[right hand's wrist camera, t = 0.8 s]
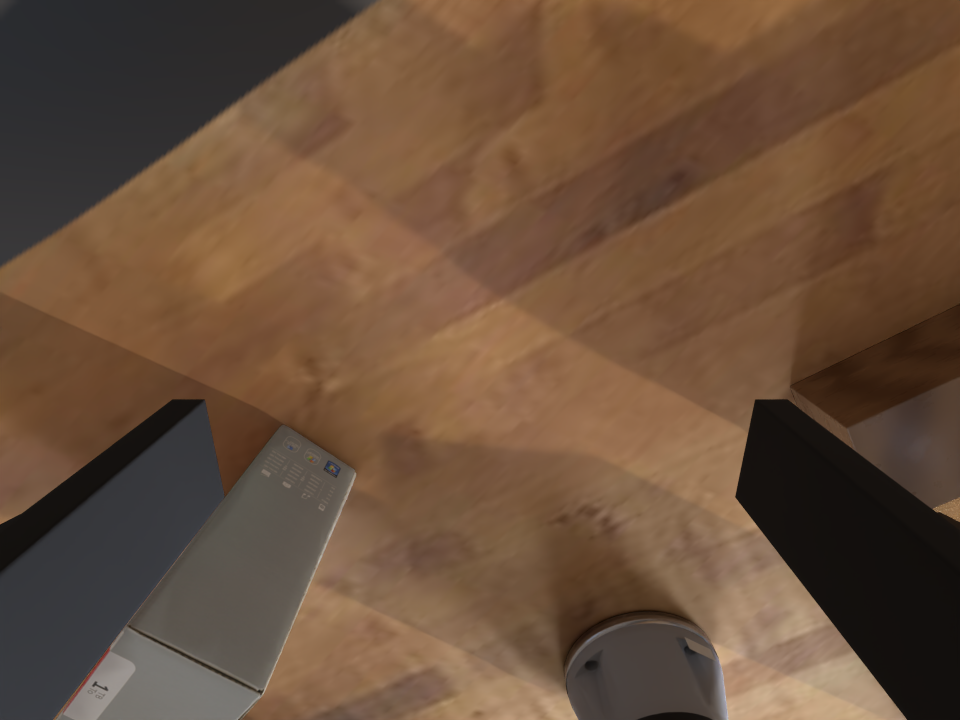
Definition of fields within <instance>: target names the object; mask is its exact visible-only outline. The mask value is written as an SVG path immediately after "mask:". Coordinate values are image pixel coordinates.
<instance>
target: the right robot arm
mask: <svg viewBox="0 0 960 720" xmlns="http://www.w3.org/2000/svg"><path fill="white" fill-rule="evenodd" d="M224 497H225V496H224V491H223V486H222V481H221V477H220V472H219V467H218V462H217V457H216V452H215V447H214V442H213V437H212V432H211V428H210V423H209V418H208V413H207V408H206V403H205V400H171V401H170V402H169V403H167V404H166V405H165V406H163V407H162V408H161V409H159V410H158V411H157V412H155V413H154V414H153V415H152V416H150V417H149V418H148V419H146V420H145V421H144V422H142V423H141V424H140V425H138V426H137V427H136V428H134V429H133V430H132V431H130V432H129V433H128V434H126V435H125V436H124V437H122V438H121V439H120V440H118V441H117V442H116V443H115V444H113V445H112V446H111V447H109V448H108V449H107V450H105V451H104V452H103V453H101V454H100V455H99V456H97V457H96V458H95V459H93V460H92V461H91V462H89V463H88V464H87V465H85V466H84V467H83V468H82V469H80V470H79V471H78V472H76V473H75V474H74V475H72V476H71V477H70V478H68V479H67V480H66V481H64V482H63V483H62V484H60V485H59V486H58V487H56V488H55V489H54V490H52V491H51V492H50V493H48V494H47V495H46V496H45V497H43V498H42V499H41V500H39V501H38V502H37V503H35V504H34V505H33V506H31V507H30V508H29V509H27V510H26V511H25V512H23V513H22V514H20V515H18V516H16V517H14V518H12V519H10V520H8V521H6V522H4V523H2V524H0V720H53V719H54V717H55V716H56V715H57V713H58V712H59V711H60V710H61V708H62V707H63V706H64V704H65V703H66V702H67V701H68V699H69V698H70V697H71V695H72V694H73V693H74V691H75V690H76V689H77V688H78V686H79V685H80V684H81V682H82V681H83V680H84V679H85V677H86V676H87V675H88V673H89V672H90V671H91V669H92V668H93V667H94V666H95V664H96V663H97V662H98V660H99V659H100V658H101V657H102V655H103V654H104V653H105V651H106V650H107V649H108V647H109V646H110V645H111V644H112V642H113V641H114V640H115V638H116V637H117V636H118V635H119V633H120V632H121V631H122V629H123V628H124V627H125V625H126V624H127V623H128V622H129V620H130V619H131V618H132V616H133V615H134V614H135V613H136V611H137V610H138V609H139V607H140V606H141V605H142V603H143V602H144V601H145V600H146V598H147V597H148V596H149V594H150V593H151V592H152V591H153V589H154V588H155V587H156V585H157V584H158V583H159V581H160V580H161V579H162V578H163V576H164V575H165V574H166V572H167V571H168V570H169V569H170V567H171V566H172V565H173V563H174V562H175V561H176V560H177V558H178V557H179V556H180V554H181V553H182V552H183V550H184V549H185V548H186V547H187V545H188V544H189V543H190V541H191V540H192V539H193V538H194V536H195V535H196V534H197V532H198V531H199V530H200V528H201V527H202V526H203V525H204V523H205V522H206V521H207V519H208V518H209V517H210V516H211V514H212V513H213V512H214V510H215V509H216V508H217V506H218V505H219V504H220V503H221V501H222V500H223V499H224ZM735 497H736V499H737V500H738V501H739V503H740V504H741V505H742V506H743V508H744V509H745V510H746V512H747V513H748V514H749V516H750V517H751V518H752V519H753V521H754V522H755V523H756V525H757V526H758V527H759V528H760V530H761V531H762V532H763V534H764V535H765V536H766V538H767V539H768V540H769V541H770V543H771V544H772V545H773V547H774V548H775V549H776V550H777V552H778V553H779V554H780V556H781V557H782V558H783V560H784V561H785V562H786V563H787V565H788V566H789V567H790V569H791V570H792V571H793V572H794V574H795V575H796V576H797V578H798V579H799V580H800V581H801V583H802V584H803V585H804V587H805V588H806V589H807V591H808V592H809V593H810V594H811V596H812V597H813V598H814V600H815V601H816V602H817V603H818V605H819V606H820V607H821V609H822V610H823V611H824V613H825V614H826V615H827V616H828V618H829V619H830V620H831V622H832V623H833V624H834V625H835V627H836V628H837V629H838V631H839V632H840V633H841V635H842V636H843V637H844V638H845V640H846V641H847V642H848V644H849V645H850V646H851V647H852V649H853V650H854V651H855V653H856V654H857V655H858V657H859V658H860V659H861V660H862V662H863V663H864V664H865V666H866V667H867V668H868V669H869V671H870V672H871V673H872V675H873V676H874V677H875V679H876V680H877V681H878V682H879V684H880V685H881V686H882V688H883V689H884V690H885V691H886V693H887V694H888V695H889V697H890V698H891V699H892V701H893V702H894V703H895V704H896V706H897V707H898V708H899V710H900V711H901V712H902V713H903V715H904V716H905V717H906V719H907V720H960V522H958V521H956V520H954V519H952V518H950V517H948V516H946V515H944V514H943V513H941V512H935V511H934V510H933V509H931V508H930V507H929V506H927V505H926V504H925V503H923V502H922V501H921V500H919V499H918V498H917V497H915V496H914V495H913V494H912V493H910V492H909V491H908V490H906V489H905V488H904V487H902V486H901V485H900V484H898V483H897V482H896V481H894V480H893V479H892V478H890V477H889V476H888V475H886V474H885V473H884V472H882V471H881V470H880V469H878V468H877V467H876V466H875V465H873V464H872V463H871V462H869V461H868V460H867V459H865V458H864V457H863V456H861V455H860V454H859V453H857V452H856V451H855V450H853V449H852V448H851V447H849V446H848V445H847V444H845V443H844V442H843V441H842V440H840V439H839V438H838V437H836V436H835V435H834V434H832V433H831V432H830V431H828V430H827V429H826V428H824V427H823V426H822V425H820V424H819V423H818V422H816V421H815V420H814V419H812V418H811V417H810V416H808V415H807V414H806V413H805V412H803V411H802V410H801V409H799V408H798V407H797V406H795V405H794V404H793V403H791V402H790V401H789V400H755V403H754V408H753V413H752V418H751V423H750V428H749V432H748V437H747V442H746V447H745V452H744V457H743V462H742V467H741V472H740V477H739V481H738V486H737V491H736V496H735ZM564 677H565V683H566V689H567V694H568V697H569V700H570V703H571V705H572V708H573V710H574V712H575V714H576V716H577V718H578V719H579V720H728V713H727V705H726V696H725V688H724V680H723V672H722V668H721V665H720V661H719V658H718V656H717V654H716V652H715V649H714V647H713V645H712V643H711V641H710V639H709V638H708V636H707V635H706V634H705V633H704V632H703V631H702V630H701V629H700V628H699V627H698V626H696V625H695V624H693V623H692V622H690V621H688V620H686V619H684V618H682V617H679V616H676V615H672V614H668V613H662V612H647V611H646V612H634V613H628V614H623V615H619V616H616V617H613V618H610V619H607V620H605V621H603V622H601V623H599V624H597V625H595V626H594V627H592V628H591V629H589V630H588V631H587V632H585V633H584V634H583V635H582V636H581V637H580V638H579V639H578V640H577V641H576V642H575V643H574V645H573V646H572V648H571V649H570V651H569V653H568V655H567V658H566V661H565V666H564Z"/></svg>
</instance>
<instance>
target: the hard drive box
mask: <svg viewBox="0 0 960 720" xmlns="http://www.w3.org/2000/svg"><path fill="white" fill-rule="evenodd" d="M355 477H356V473H355V470H354V469H353V468H351V467H350V466H348V465H347V464H345V463H344V462H342V461H340V460H339V459H337V458H336V457H334V456H333V455H331V454H330V453H328V452H326V451H325V450H323V449H322V448H320V447H319V446H317V445H316V444H314V443H312V442H311V441H309V440H308V439H306V438H305V437H303V436H302V435H300V434H299V433H297V432H296V431H294V430H292V429H291V428H289V427H288V426H286V425H281V426H280V427H279V429H278V430H277V431H276V432H275V434H274V435H273V436H272V437H271V439H270V440H269V441H268V442H267V444H266V445H265V446H264V447H263V449H262V450H261V451H260V453H259V454H258V455H257V456H256V458H255V459H254V460H253V462H252V463H251V464H250V466H249V467H248V468H247V469H246V471H245V472H244V473H243V475H242V476H241V477H240V479H239V480H238V481H237V483H236V484H235V485H234V486H233V488H232V489H231V490H230V492H229V493H228V494H227V496H226V497H225V498H224V500H223V501H222V502H221V503H220V505H219V506H218V507H217V509H216V510H215V511H214V513H213V514H212V515H211V517H210V518H209V519H208V520H207V522H206V523H205V524H204V526H203V527H202V528H201V530H200V531H199V532H198V533H197V535H196V536H195V537H194V539H193V540H192V541H191V543H190V544H189V545H188V546H187V548H186V549H185V550H184V552H183V553H182V554H181V556H180V557H179V558H178V559H177V561H176V562H175V563H174V565H173V566H172V567H171V569H170V570H169V571H168V573H167V574H166V575H165V576H164V578H163V579H162V580H161V582H160V583H159V584H158V585H157V587H156V588H155V589H154V591H153V592H152V593H151V594H150V596H149V597H148V598H147V599H146V601H145V602H144V603H143V605H142V606H141V607H140V609H139V610H138V611H137V612H136V614H135V615H134V616H133V618H132V619H131V620H130V621H129V623H128V624H127V625H126V627H125V628H124V629H123V630H122V632H121V633H120V634H119V636H118V637H117V638H116V640H115V641H114V642H113V644H112V645H111V646H110V648H109V649H108V650H107V651H106V653H105V654H104V656H103V657H102V658H101V660H100V661H99V662H98V664H97V665H96V666H95V668H94V669H93V670H92V672H91V673H90V674H89V676H88V677H87V678H86V680H85V681H84V683H83V684H82V685H81V687H80V688H79V690H78V691H77V692H76V694H75V695H74V696H73V698H72V699H71V700H70V701H69V703H68V704H67V705H66V707H65V708H64V709H63V711H62V712H61V713H60V715H59V716H58V717H57V719H56V720H241V719H242V718H243V717H244V716H245V715H246V714H247V713H248V712H249V710H250V709H251V708H252V707H253V706H254V705H255V704H256V703H257V701H258V700H259V699H260V698H261V697H262V696H263V694H264V691H265V689H266V687H267V685H268V683H269V680H270V678H271V676H272V673H273V671H274V669H275V666H276V664H277V662H278V659H279V657H280V655H281V652H282V650H283V647H284V645H285V643H286V640H287V638H288V635H289V633H290V630H291V628H292V626H293V623H294V621H295V619H296V616H297V614H298V612H299V609H300V607H301V605H302V602H303V600H304V597H305V595H306V593H307V590H308V588H309V586H310V583H311V581H312V579H313V576H314V574H315V572H316V569H317V567H318V565H319V562H320V560H321V558H322V555H323V553H324V550H325V548H326V546H327V543H328V541H329V539H330V536H331V534H332V532H333V530H334V527H335V525H336V523H337V520H338V518H339V515H340V513H341V511H342V508H343V506H344V504H345V501H346V499H347V497H348V494H349V492H350V490H351V487H352V485H353V482H354V480H355Z"/></svg>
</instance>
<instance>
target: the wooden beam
mask: <svg viewBox="0 0 960 720" xmlns="http://www.w3.org/2000/svg"><path fill="white" fill-rule="evenodd" d="M790 388H791V391H792V393H793V396H794V398H795V400H796V403H797V405H798V408H799V409H801V410H802V411H803V412H805V413H806V414H807V415H808V416H810V417H811V418H812V419H814V420H815V421H816V422H818V423H819V424H820V425H822V426H823V427H824V428H826V429H827V430H828V431H830V432H831V433H832V434H834V435H835V436H836V437H838V438H839V439H840V440H842V441H843V442H844V443H845V444H847V445H848V446H849V447H851V448H852V449H853V450H855V451H856V452H857V453H859V454H860V455H861V456H863V457H864V458H865V459H867V460H868V461H869V462H871V463H872V464H873V465H875V466H876V467H877V468H878V469H880V470H881V471H882V472H884V473H885V474H886V475H888V476H889V477H890V478H892V479H893V480H894V481H896V482H897V483H898V484H900V485H901V486H902V487H904V488H905V489H906V490H908V491H909V492H910V493H912V494H913V495H914V496H915V497H917V498H918V499H919V500H921V501H922V502H923V503H925V504H926V505H927V506H929V507H930V508H931V509H932V508H935V507H937V506H940V505H942V504H945V503H947V502H949V501H952V500H954V499H957V498H959V497H960V305H958V306H955V307H953V308H951V309H949V310H947V311H945V312H943V313H941V314H939V315H937V316H935V317H933V318H931V319H929V320H926V321H924V322H922V323H920V324H918V325H916V326H914V327H912V328H910V329H908V330H906V331H904V332H902V333H899V334H897V335H895V336H893V337H891V338H889V339H887V340H885V341H883V342H881V343H879V344H877V345H875V346H872V347H870V348H868V349H866V350H864V351H862V352H860V353H858V354H856V355H854V356H852V357H850V358H848V359H845V360H843V361H841V362H839V363H837V364H835V365H833V366H831V367H829V368H827V369H825V370H823V371H821V372H818V373H816V374H814V375H812V376H810V377H808V378H806V379H804V380H802V381H800V382H798V383H796V384H794V385H791V386H790Z"/></svg>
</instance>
